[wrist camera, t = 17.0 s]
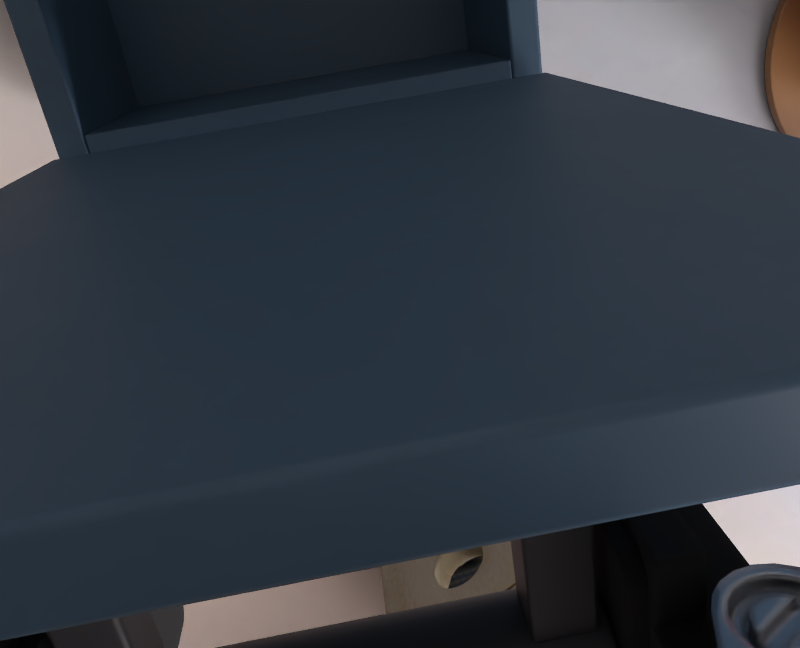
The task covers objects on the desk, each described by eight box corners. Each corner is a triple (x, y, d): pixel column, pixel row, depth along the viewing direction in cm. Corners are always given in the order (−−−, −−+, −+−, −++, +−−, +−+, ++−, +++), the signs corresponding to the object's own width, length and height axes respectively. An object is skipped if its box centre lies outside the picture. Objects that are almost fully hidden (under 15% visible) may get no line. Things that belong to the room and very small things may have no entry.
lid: (-1002, 721, 4) (-369, 1164, 6) (1341, 270, 4) (1105, 852, 6) (51, 159, 18) (120, 352, 20) (547, 71, 18) (561, 270, 20)
